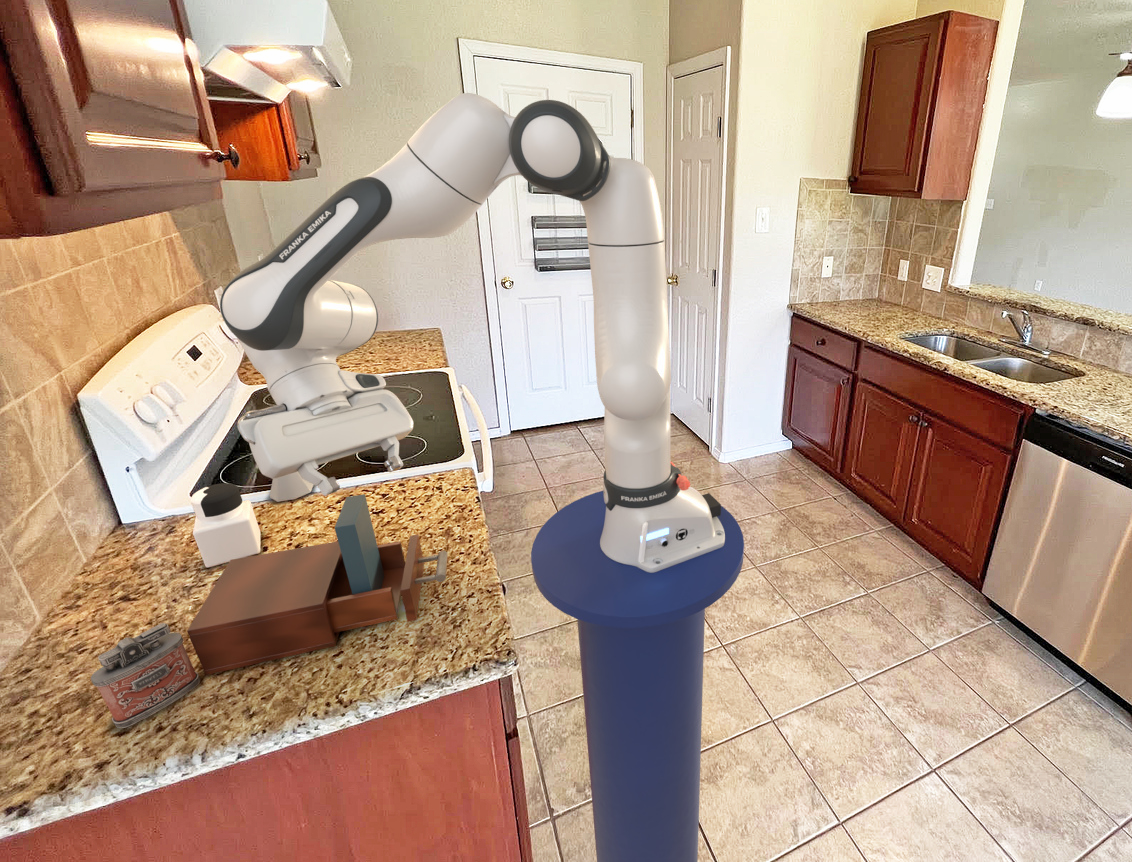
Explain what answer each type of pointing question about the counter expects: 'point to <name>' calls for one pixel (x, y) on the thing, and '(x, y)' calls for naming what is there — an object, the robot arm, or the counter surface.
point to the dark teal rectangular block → (359, 546)
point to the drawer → (384, 588)
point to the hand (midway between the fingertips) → (366, 480)
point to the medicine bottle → (224, 524)
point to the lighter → (144, 675)
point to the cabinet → (267, 608)
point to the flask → (289, 487)
